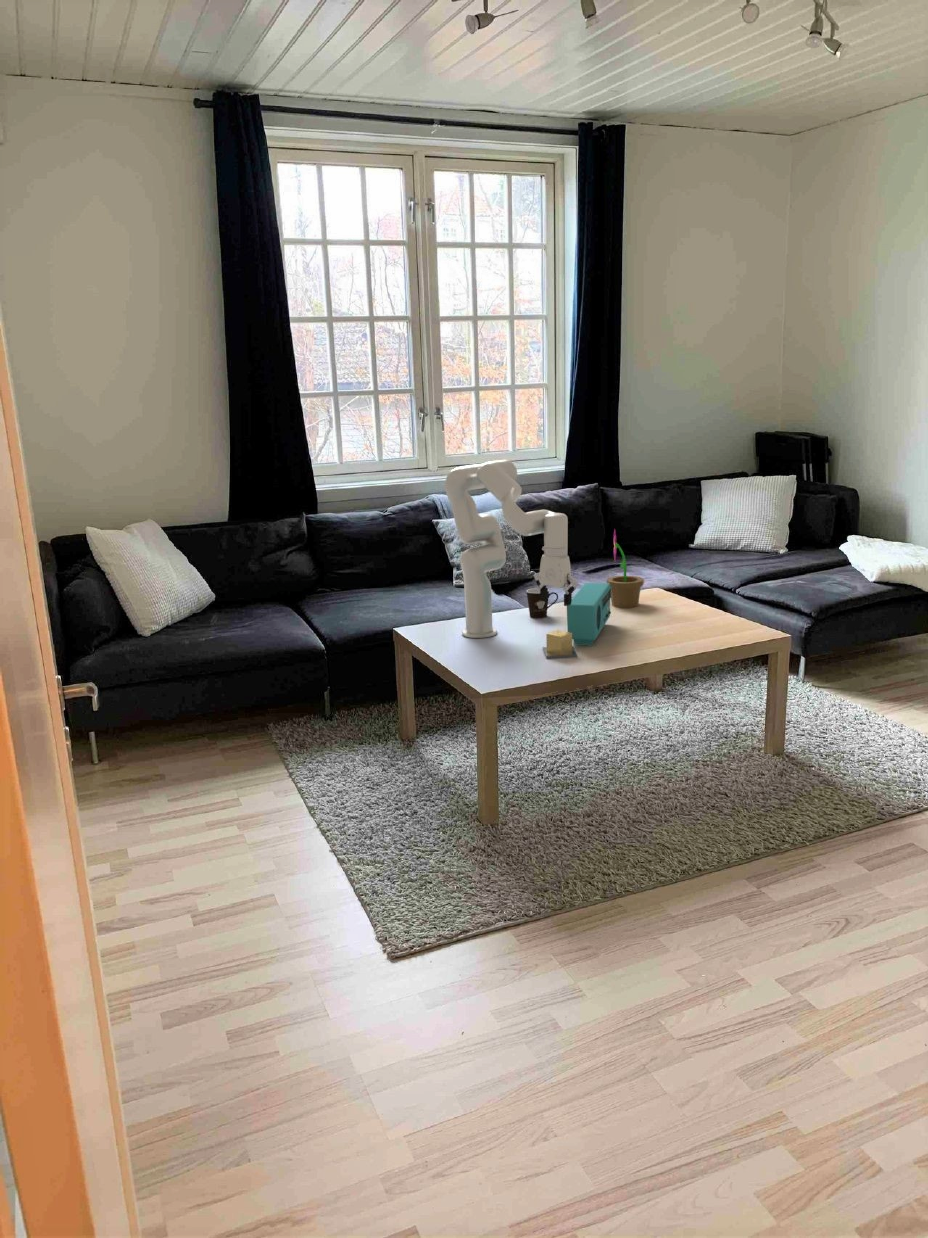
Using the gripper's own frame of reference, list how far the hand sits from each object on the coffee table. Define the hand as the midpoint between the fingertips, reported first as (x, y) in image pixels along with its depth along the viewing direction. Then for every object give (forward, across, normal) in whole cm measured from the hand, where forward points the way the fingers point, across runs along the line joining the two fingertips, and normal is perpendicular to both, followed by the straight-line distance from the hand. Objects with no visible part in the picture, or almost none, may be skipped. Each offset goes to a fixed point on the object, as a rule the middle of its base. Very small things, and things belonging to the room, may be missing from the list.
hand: (555, 602), depth 312 cm
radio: (+18, -3, +24) cm, 30 cm away
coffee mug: (+18, -33, +34) cm, 51 cm away
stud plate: (+17, +2, 0) cm, 17 cm away
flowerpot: (+18, -17, +66) cm, 70 cm away
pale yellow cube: (+16, +2, 0) cm, 16 cm away
